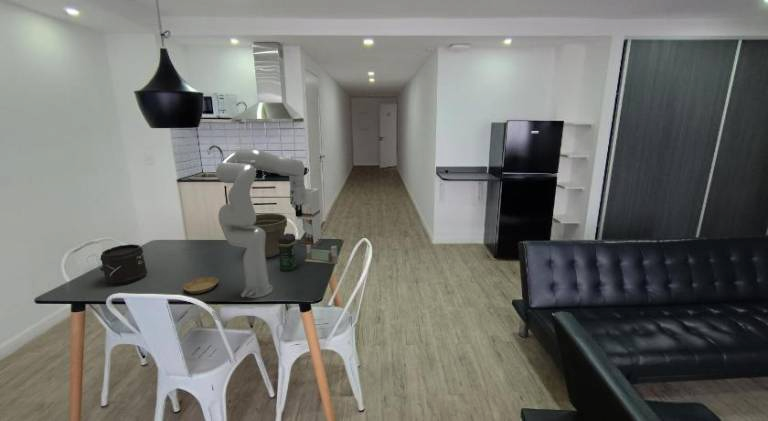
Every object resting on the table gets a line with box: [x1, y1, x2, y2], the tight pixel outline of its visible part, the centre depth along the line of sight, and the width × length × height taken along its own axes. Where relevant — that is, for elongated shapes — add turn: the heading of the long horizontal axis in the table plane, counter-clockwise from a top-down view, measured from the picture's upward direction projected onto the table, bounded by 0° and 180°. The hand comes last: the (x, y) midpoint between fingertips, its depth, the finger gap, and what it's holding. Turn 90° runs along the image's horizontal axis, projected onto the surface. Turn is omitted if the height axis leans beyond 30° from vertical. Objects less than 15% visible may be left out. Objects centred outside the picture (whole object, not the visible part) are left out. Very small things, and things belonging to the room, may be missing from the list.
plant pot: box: [252, 213, 288, 258], centre depth 205 cm, size 25×25×22 cm
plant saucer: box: [183, 276, 219, 294], centre depth 165 cm, size 15×15×3 cm
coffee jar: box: [278, 233, 298, 272], centre depth 184 cm, size 10×8×19 cm
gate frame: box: [304, 244, 340, 265], centre depth 193 cm, size 4×19×9 cm, turn 75°
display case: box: [296, 187, 323, 248], centre depth 219 cm, size 11×11×35 cm
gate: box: [311, 248, 331, 261], centre depth 193 cm, size 12×2×6 cm, turn 75°
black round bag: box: [99, 243, 148, 287], centre depth 174 cm, size 18×18×16 cm
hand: (299, 216), depth 190 cm, fingers closed
